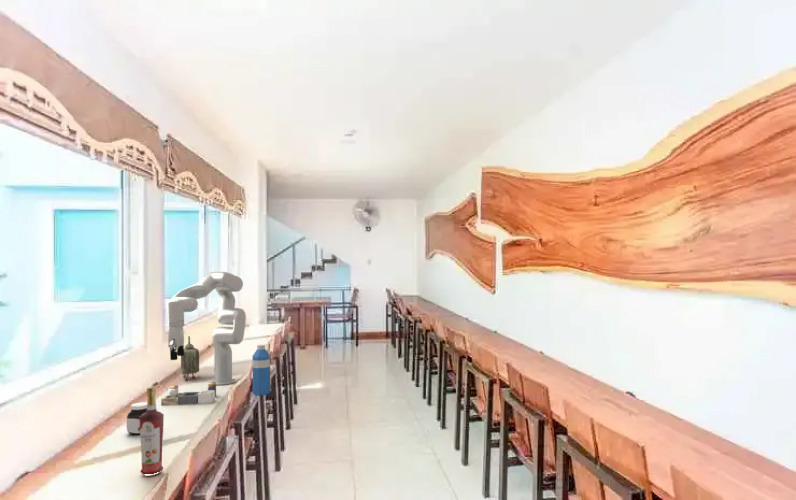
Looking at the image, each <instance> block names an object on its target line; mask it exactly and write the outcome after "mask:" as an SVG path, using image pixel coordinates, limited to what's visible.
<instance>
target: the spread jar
mask: <svg viewBox="0 0 796 500" xmlns="http://www.w3.org/2000/svg"><path fill="white" fill-rule="evenodd" d="M147 402H148V401H145V402H144V401H141V402H136V403H132V404H131V405H130V410H129V412H128V413H127V415H126V419H125V420H126V424H125V425H126V431H127V433H128V434H129V435H131V436H133V437H134V436H135V435H136V436H137V435H139V436H140V420H139V417H140V416H141V415H142V414H144V413H146V412H147ZM137 437H138V436H137Z"/></svg>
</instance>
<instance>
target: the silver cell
mask: <svg viewBox="0 0 796 500" xmlns="http://www.w3.org/2000/svg"><path fill="white" fill-rule="evenodd" d="M178 393H179V385H177V384H176V385H175V384H174V385H170V386H169V394H170V398H177V397H178Z"/></svg>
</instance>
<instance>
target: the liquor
mask: <svg viewBox="0 0 796 500" xmlns="http://www.w3.org/2000/svg"><path fill="white" fill-rule="evenodd" d="M156 392H157V387H155V386H150V387H147V388H146V396H147V401H146V402H147V412H146V413H144V414H142V415H141V416H140V417H139V420H140V435H139V438H140V448H141V449H140V450H141V469H140V473H141V474H142V475H143V474H154V473H157V472H160V471H161V472H162V471H163V470H164V466H163V465H162V464H163V439H164V438H163V437H164V418H165V417H164V415H165V414H164V413H162V412H161V411H158V410H157V403H156V401H157V400H156V395H157V393H156ZM161 472H160V473H161Z"/></svg>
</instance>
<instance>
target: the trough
mask: <svg viewBox="0 0 796 500" xmlns="http://www.w3.org/2000/svg"><path fill="white" fill-rule="evenodd" d="M182 393H183V392H178V396H179V395H181V394H182ZM160 403H161V404H160V405H161V406H177V405H178V397H177V398H170V393H168V394H167V395H165V396H163V397H162V398H161V399H160ZM178 406H179V405H178Z"/></svg>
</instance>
